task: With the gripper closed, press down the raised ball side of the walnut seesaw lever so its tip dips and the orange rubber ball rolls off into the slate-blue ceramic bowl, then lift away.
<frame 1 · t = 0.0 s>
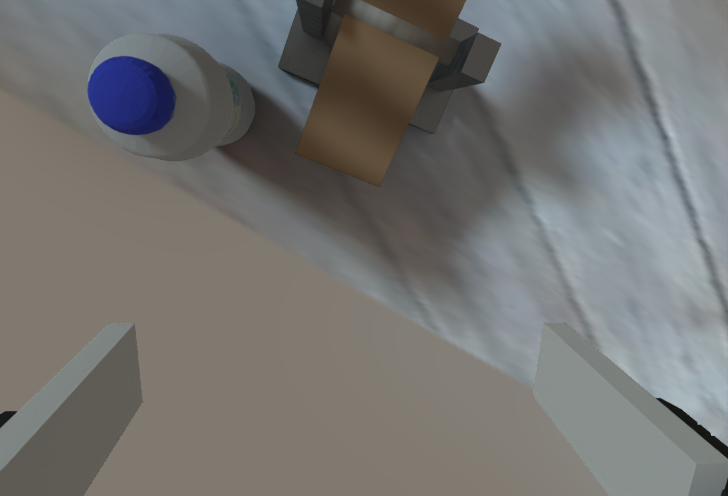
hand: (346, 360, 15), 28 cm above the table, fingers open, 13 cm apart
bottle: (220, 105, 39), on the table
fulcrum: (377, 49, 39), on the table
lever: (401, 8, 30), point 8 cm above the table, hinge at -15.0°, touching ball
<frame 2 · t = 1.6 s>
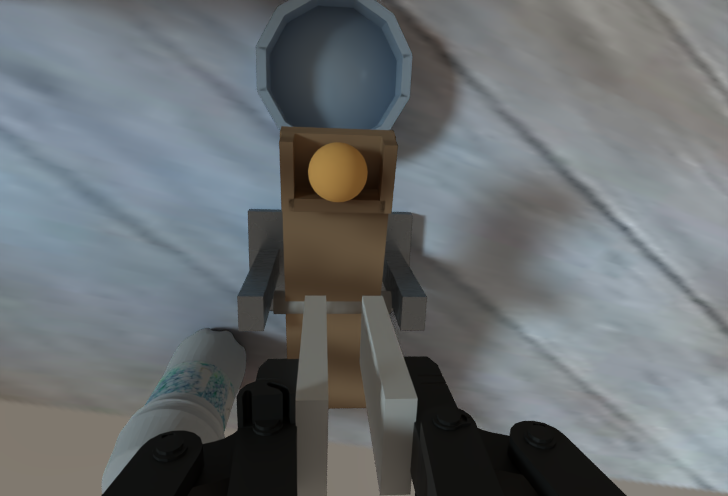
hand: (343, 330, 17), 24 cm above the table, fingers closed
bottle: (215, 351, 44), on the table
ball: (337, 172, 25), point 15 cm above the table, tilted 21°, touching lever
fulcrum: (330, 260, 42), on the table
lever: (332, 275, 34), point 8 cm above the table, hinge at -15.0°, touching ball
bowl: (333, 76, 38), on the table
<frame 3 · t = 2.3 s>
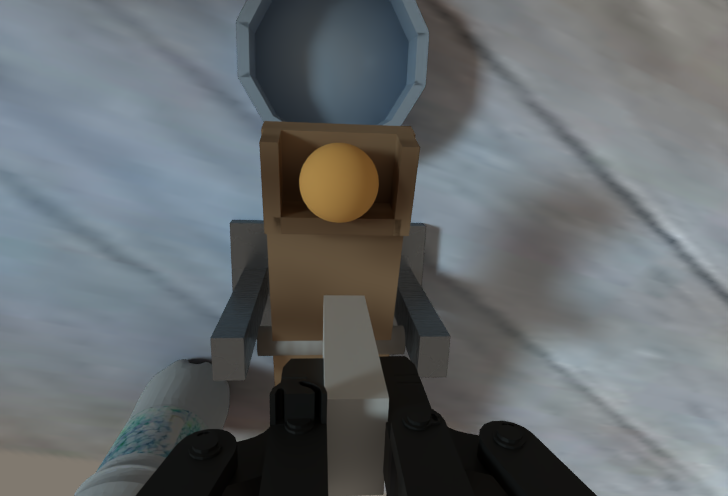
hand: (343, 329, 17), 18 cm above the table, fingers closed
bottle: (194, 385, 37), on the table
ball: (339, 183, 19), point 15 cm above the table, tilted 21°, touching lever
fulcrum: (328, 279, 36), on the table
lever: (331, 304, 27), point 8 cm above the table, hinge at -15.0°, touching ball
bowl: (332, 61, 31), on the table
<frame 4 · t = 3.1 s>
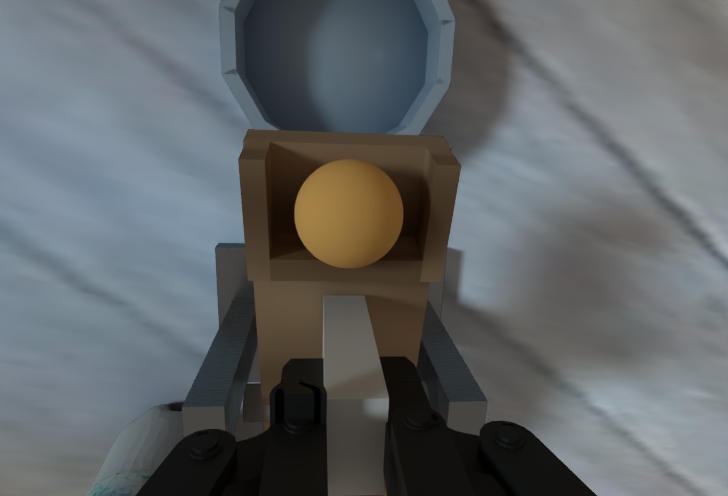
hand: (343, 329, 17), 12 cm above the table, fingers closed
bottle: (176, 433, 32), on the table
ball: (349, 214, 14), point 15 cm above the table, tilted 20°, touching lever
fulcrum: (331, 311, 31), on the table
lever: (336, 354, 22), point 8 cm above the table, hinge at -14.7°, touching ball, gripper
bowl: (336, 55, 26), on the table
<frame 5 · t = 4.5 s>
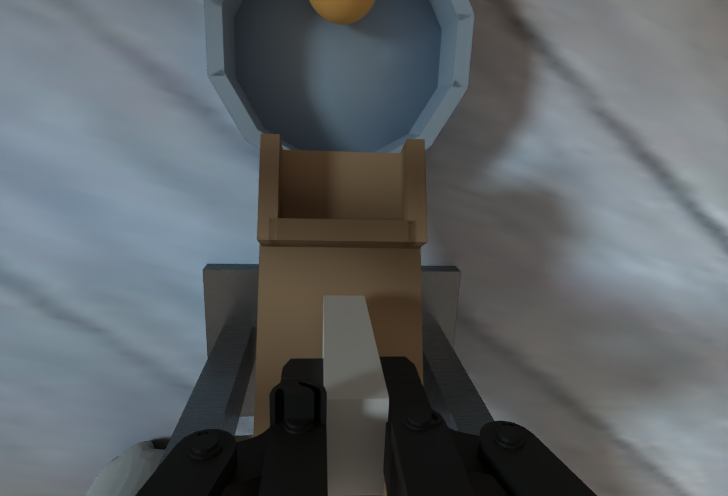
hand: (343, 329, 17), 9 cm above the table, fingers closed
bottle: (161, 470, 29), on the table
fulcrum: (332, 337, 28), on the table
lever: (337, 418, 20), point 8 cm above the table, hinge at 24.3°, touching gripper
bowl: (339, 55, 23), on the table
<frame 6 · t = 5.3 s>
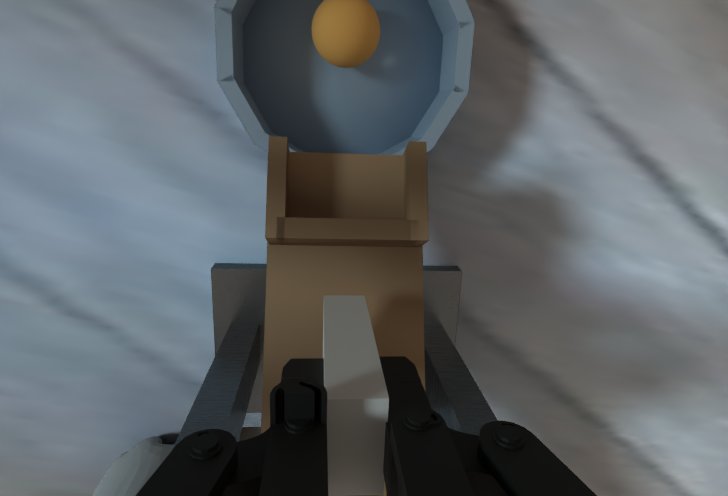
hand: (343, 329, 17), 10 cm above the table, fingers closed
bottle: (169, 466, 30), on the table
ball: (346, 31, 22), point 2 cm above the table, tilted 92°, touching bowl
fulcrum: (337, 336, 28), on the table
lever: (342, 411, 21), point 8 cm above the table, hinge at 24.3°
bowl: (343, 61, 24), on the table
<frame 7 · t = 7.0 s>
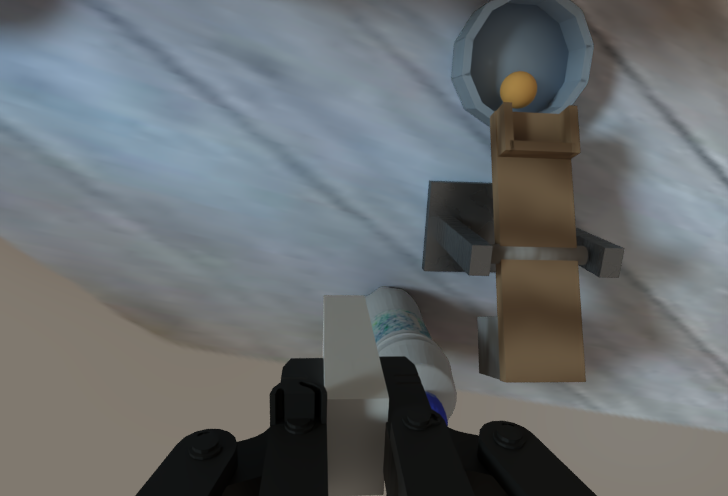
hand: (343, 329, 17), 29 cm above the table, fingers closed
bottle: (385, 308, 49), on the table
ball: (518, 90, 42), point 2 cm above the table, tilted 146°, touching bowl
fulcrum: (492, 227, 48), on the table
lever: (525, 246, 40), point 8 cm above the table, hinge at 24.3°
bowl: (512, 64, 44), on the table
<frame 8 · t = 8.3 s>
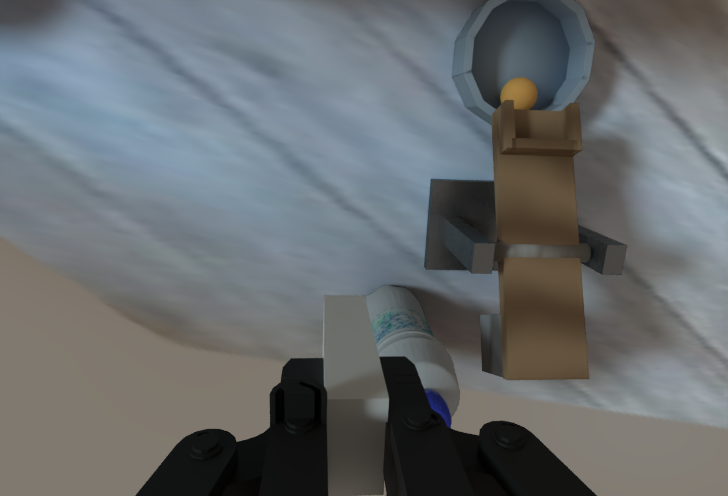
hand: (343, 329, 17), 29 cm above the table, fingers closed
bottle: (388, 307, 49), on the table
ball: (518, 95, 42), point 2 cm above the table, tilted 120°, touching bowl
fulcrum: (494, 225, 48), on the table
lever: (527, 243, 40), point 8 cm above the table, hinge at 24.3°
bowl: (513, 62, 44), on the table
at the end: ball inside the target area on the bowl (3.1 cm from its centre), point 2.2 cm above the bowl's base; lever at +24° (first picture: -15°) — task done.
